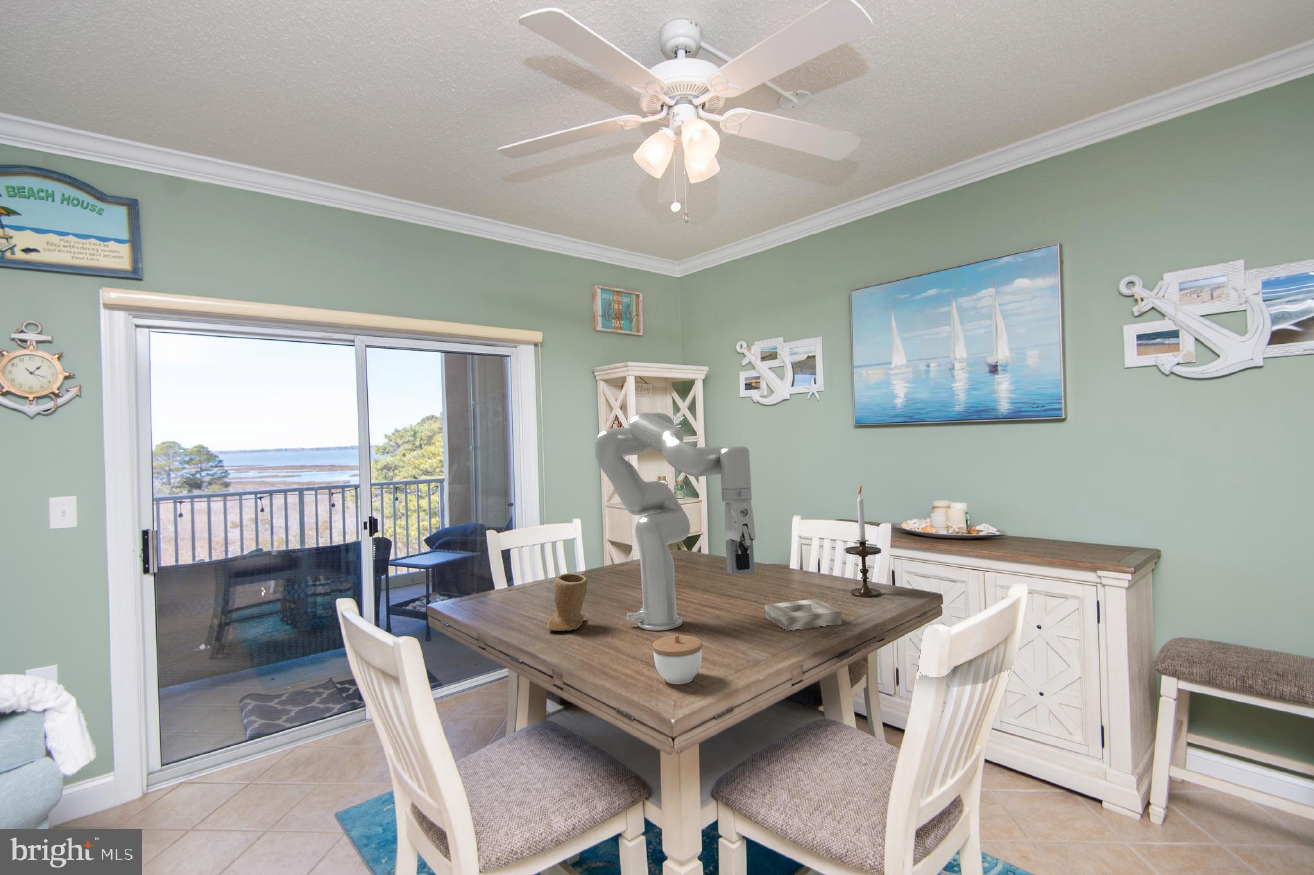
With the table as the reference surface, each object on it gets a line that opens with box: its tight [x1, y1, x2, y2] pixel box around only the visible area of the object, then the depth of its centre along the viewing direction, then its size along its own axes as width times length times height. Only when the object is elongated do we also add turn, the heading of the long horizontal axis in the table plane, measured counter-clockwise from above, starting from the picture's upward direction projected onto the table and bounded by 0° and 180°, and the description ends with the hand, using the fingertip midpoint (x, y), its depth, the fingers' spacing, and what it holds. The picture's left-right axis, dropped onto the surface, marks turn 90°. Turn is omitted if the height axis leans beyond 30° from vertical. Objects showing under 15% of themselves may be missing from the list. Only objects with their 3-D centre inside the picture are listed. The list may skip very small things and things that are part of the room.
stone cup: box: [546, 572, 588, 632], centre depth 171 cm, size 15×12×15 cm
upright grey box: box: [725, 539, 755, 576], centre depth 149 cm, size 6×4×8 cm, turn 102°
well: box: [764, 598, 842, 632], centre depth 164 cm, size 16×14×4 cm
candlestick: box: [844, 484, 882, 599], centre depth 189 cm, size 11×11×35 cm
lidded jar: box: [652, 634, 703, 685], centre depth 128 cm, size 11×11×9 cm
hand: (740, 567), depth 149 cm, fingers closed on upright grey box, 3 cm apart
